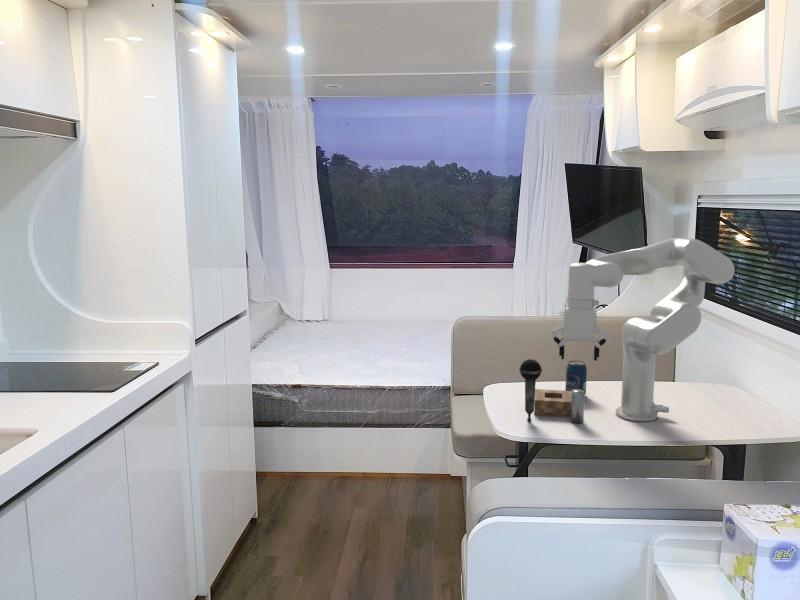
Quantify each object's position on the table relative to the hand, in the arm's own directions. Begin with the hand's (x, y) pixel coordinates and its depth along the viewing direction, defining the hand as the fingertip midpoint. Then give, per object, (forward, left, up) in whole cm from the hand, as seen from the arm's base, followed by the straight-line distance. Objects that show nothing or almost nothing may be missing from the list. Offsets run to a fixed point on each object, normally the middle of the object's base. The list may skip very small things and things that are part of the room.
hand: (578, 359), depth 195 cm
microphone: (+14, +3, -20) cm, 25 cm away
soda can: (-1, -27, -20) cm, 34 cm away
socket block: (+7, -10, -20) cm, 24 cm away
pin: (0, 0, -20) cm, 20 cm away
